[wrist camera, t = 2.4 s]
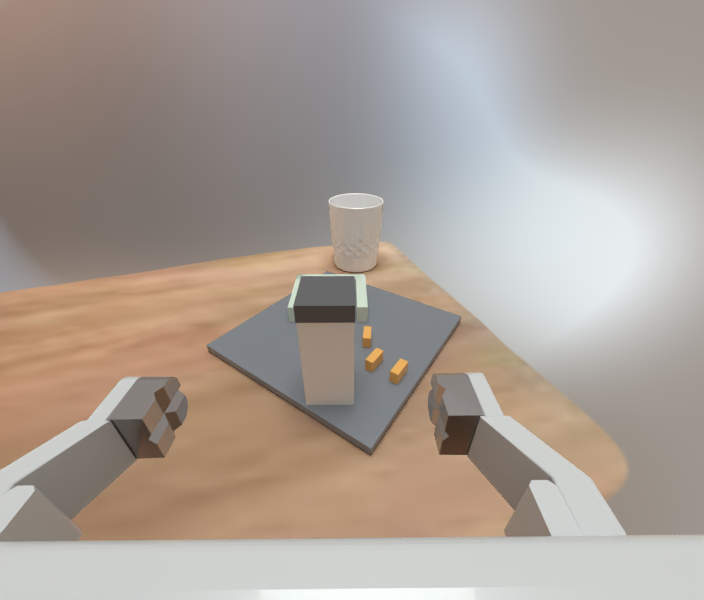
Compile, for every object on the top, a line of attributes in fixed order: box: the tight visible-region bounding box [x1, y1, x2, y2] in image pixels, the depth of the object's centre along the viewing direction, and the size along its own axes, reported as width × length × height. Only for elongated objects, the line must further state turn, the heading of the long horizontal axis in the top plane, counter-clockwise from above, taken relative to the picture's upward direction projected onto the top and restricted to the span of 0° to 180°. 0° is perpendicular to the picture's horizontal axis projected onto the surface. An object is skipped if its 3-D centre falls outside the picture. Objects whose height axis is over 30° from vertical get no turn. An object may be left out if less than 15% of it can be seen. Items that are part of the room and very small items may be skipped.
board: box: [207, 271, 461, 455], centre depth 34 cm, size 20×20×2 cm
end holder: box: [288, 274, 368, 322], centre depth 39 cm, size 8×9×2 cm
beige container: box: [293, 276, 355, 405], centre depth 25 cm, size 4×4×10 cm
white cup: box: [329, 193, 384, 272], centre depth 48 cm, size 8×8×10 cm
